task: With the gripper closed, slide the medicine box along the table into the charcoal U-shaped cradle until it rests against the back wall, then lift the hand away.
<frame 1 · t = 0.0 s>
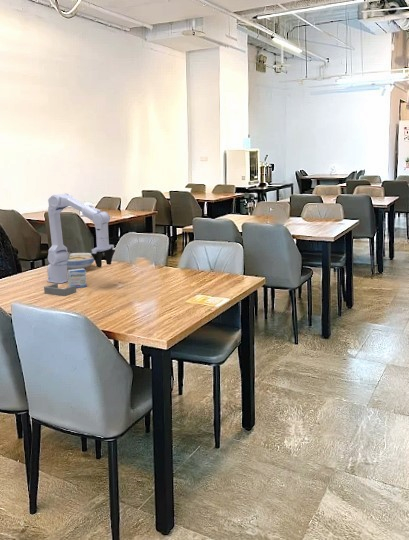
hand: (104, 265, 252), 10 cm above the table, tool pointing down, fingers open, 7 cm apart
medicine box: (77, 287, 254), on the table
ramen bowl: (76, 269, 295), on the table
cradle jig: (64, 291, 246), on the table
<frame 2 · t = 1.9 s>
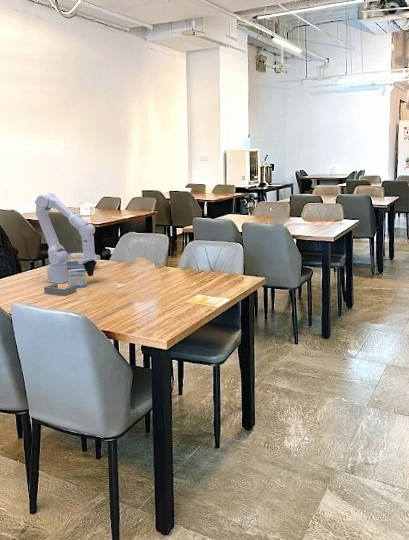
hand: (90, 275, 262), 3 cm above the table, tool pointing down, fingers closed
nothing on the table moved.
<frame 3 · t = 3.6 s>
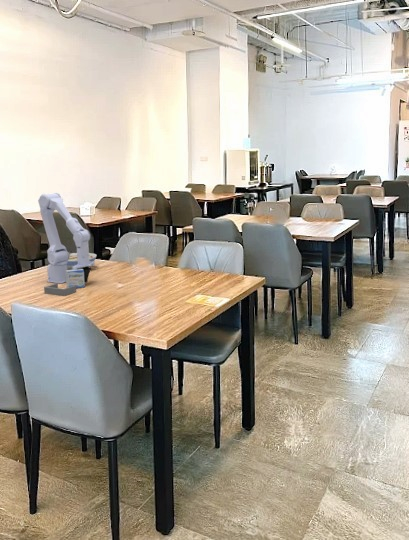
hand: (85, 282, 259), 1 cm above the table, tool pointing down, fingers closed
medicine box: (75, 287, 253), on the table, touching gripper
everything else where it was.
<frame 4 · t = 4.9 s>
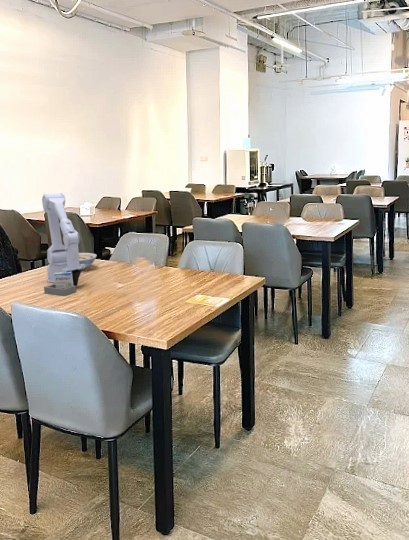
hand: (74, 285, 252), 1 cm above the table, tool pointing down, fingers closed
medicine box: (65, 290, 247), on the table, touching gripper
everything else where it was.
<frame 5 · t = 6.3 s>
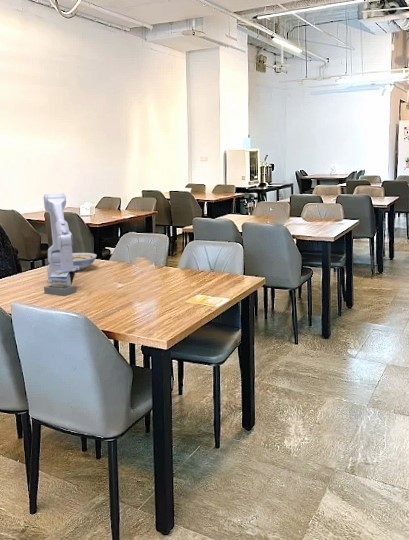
hand: (68, 287, 248), 1 cm above the table, tool pointing down, fingers closed
medicine box: (62, 290, 246), point 1 cm above the table, touching gripper
everything else where it was.
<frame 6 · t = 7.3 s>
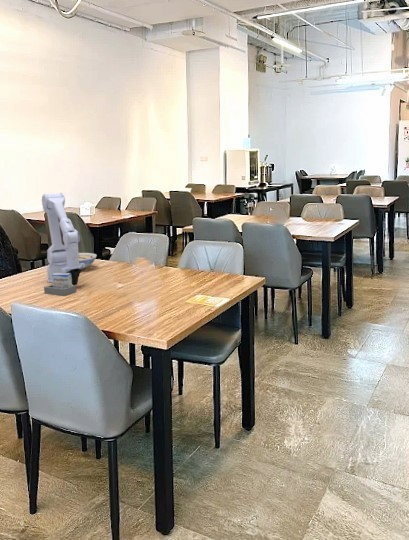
hand: (74, 284, 252), 2 cm above the table, tool pointing down, fingers closed
medicine box: (63, 292, 246), on the table
everything else where it was.
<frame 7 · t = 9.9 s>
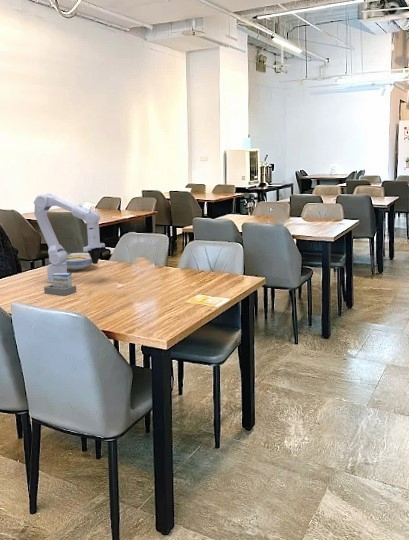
hand: (95, 263, 262), 9 cm above the table, tool pointing down, fingers closed
nothing on the table moved.
at the end: medicine box 2.3 cm from the target spot on the cradle jig, point 0.0 cm above the cradle jig's base; medicine box tilted 0°; medicine box moved 9.8 cm from its start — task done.
